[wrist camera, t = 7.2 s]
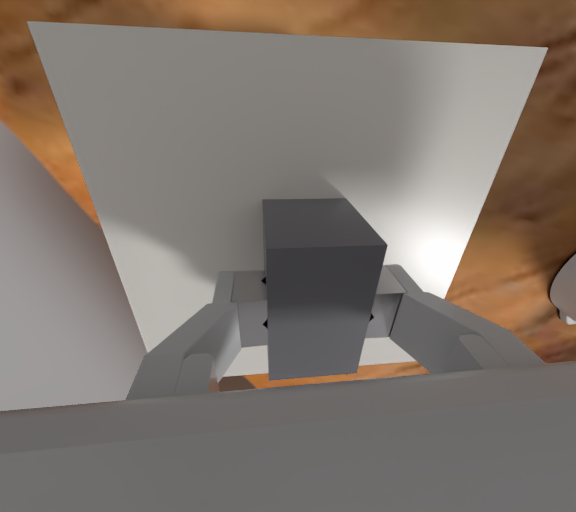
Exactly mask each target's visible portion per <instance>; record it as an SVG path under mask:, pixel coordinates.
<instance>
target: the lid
mask: <svg viewBox="0 0 576 512" xmlns="http://www.w3.org/2000/svg"><path fill="white" fill-rule="evenodd" d="M27 24H28V27H29V29H30V32H31V35H32V37H33V40H34V43H35V46H36V48H37V51H38V54H39V57H40V59H41V62H42V65H43V68H44V70H45V73H46V76H47V79H48V81H49V84H50V87H51V90H52V92H53V95H54V98H55V100H56V103H57V106H58V109H59V111H60V114H61V117H62V120H63V122H64V125H65V128H66V131H67V133H68V136H69V139H70V142H71V144H72V147H73V150H74V152H75V155H76V158H77V161H78V163H79V166H80V169H81V172H82V174H83V177H84V180H85V183H86V185H87V188H88V191H89V194H90V196H91V199H92V202H93V205H94V207H95V210H96V213H97V215H98V218H99V221H100V224H101V226H102V229H103V232H104V235H105V237H106V240H107V243H108V246H109V248H110V251H111V254H112V257H113V259H114V262H115V265H116V268H117V270H118V273H119V276H120V278H121V281H122V284H123V287H124V289H125V292H126V295H127V298H128V300H129V303H130V305H131V308H132V311H133V314H134V317H135V320H136V322H137V325H138V327H139V331H140V333H141V336H142V339H143V341H144V344H145V347H146V349H147V352H148V353H149V352H150V351H151V350H152V349H153V348H155V347H156V346H157V345H158V344H159V343H161V342H162V341H163V340H164V339H165V338H167V337H168V336H169V335H170V334H171V333H173V332H174V331H175V330H176V329H177V328H179V327H180V326H181V325H182V324H183V323H185V322H186V321H187V320H188V319H189V318H191V317H192V316H193V315H194V314H195V313H197V312H198V311H199V310H200V309H201V308H203V307H204V306H205V305H206V304H210V303H212V301H213V296H214V291H215V286H216V281H217V276H218V273H219V272H220V271H250V270H265V274H266V289H267V313H268V318H267V323H268V345H264V346H254V347H244V348H241V350H240V352H239V353H238V355H237V356H236V358H235V359H234V361H233V362H232V364H231V365H230V366H229V368H228V369H227V371H226V372H225V374H224V375H223V377H225V376H237V375H250V374H262V373H269V380H280V379H292V378H304V377H316V376H327V375H339V374H351V373H357V369H358V366H360V365H372V364H385V363H397V362H409V361H416V360H415V359H414V358H412V357H411V356H410V355H409V354H408V353H406V352H405V351H404V350H403V349H402V348H400V347H399V346H398V345H397V344H395V343H394V342H393V341H392V340H391V339H389V338H390V337H385V338H365V336H366V332H367V328H368V324H369V320H370V316H371V312H372V307H373V303H374V299H375V295H376V291H377V287H378V283H379V279H380V274H381V270H382V266H383V265H390V264H399V265H401V266H402V268H403V269H404V270H405V271H406V272H407V273H408V274H409V276H410V277H411V278H412V279H413V280H414V281H415V283H416V284H417V285H418V286H419V287H420V288H421V289H422V291H423V292H430V293H432V294H434V295H436V296H438V297H440V298H442V299H444V298H445V296H446V293H447V291H448V288H449V286H450V284H451V281H452V279H453V276H454V274H455V272H456V269H457V267H458V264H459V262H460V260H461V257H462V255H463V252H464V250H465V247H466V245H467V243H468V240H469V238H470V235H471V233H472V231H473V228H474V226H475V223H476V221H477V219H478V216H479V214H480V211H481V209H482V207H483V204H484V202H485V199H486V197H487V194H488V192H489V190H490V187H491V185H492V182H493V180H494V178H495V175H496V173H497V170H498V168H499V166H500V163H501V161H502V158H503V156H504V153H505V151H506V149H507V146H508V144H509V141H510V139H511V137H512V134H513V132H514V129H515V127H516V125H517V122H518V120H519V117H520V115H521V112H522V110H523V108H524V105H525V103H526V100H527V98H528V96H529V93H530V91H531V88H532V86H533V84H534V81H535V79H536V76H537V74H538V72H539V69H540V67H541V64H542V62H543V59H544V57H545V55H546V52H547V50H548V48H547V47H527V46H508V45H488V44H469V43H449V42H429V41H410V40H390V39H370V38H351V37H331V36H312V35H292V34H272V33H253V32H233V31H213V30H194V29H174V28H155V27H135V26H115V25H96V24H76V23H56V22H37V21H27Z"/></svg>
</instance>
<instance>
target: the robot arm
mask: <svg viewBox="0 0 576 512" xmlns="http://www.w3.org/2000/svg"><path fill="white" fill-rule="evenodd" d="M550 298H551V301H552V303H553V304H554V305H555V306H556V307H557V308H558V309H559V310H560V319H561V320H562V321H564V322H565V323H567V324H576V254H575V255H574V256H573V257H572V258H571V259H570V260H569V261H568V262H567V263H566V264H565V265H564V266H563V267H562V269H561V270H560V271H559V273H558V274H557V276H556V278H555V279H554V281H553V284H552V286H551V290H550ZM267 318H268V313H267V289H266V274H265V270H250V271H220V272H219V273H218V276H217V281H216V286H215V291H214V296H213V301H212V303H210V304H206V305H205V306H204V307H203V308H201V309H200V310H199V311H198V312H197V313H195V314H194V315H193V316H192V317H191V318H189V319H188V320H187V321H186V322H185V323H183V324H182V325H181V326H180V327H179V328H177V329H176V330H175V331H174V332H173V333H171V334H170V335H169V336H168V337H167V338H165V339H164V340H163V341H162V342H161V343H159V344H158V345H157V346H156V347H155V348H153V349H152V350H151V351H150V352H149V353H147V354H146V355H145V356H144V358H143V360H142V363H141V365H140V367H139V370H138V372H137V375H136V377H135V379H134V382H133V384H132V386H131V388H130V391H129V393H128V395H127V398H126V400H123V401H112V402H100V403H89V404H78V405H66V406H55V407H44V408H32V409H21V410H9V411H0V512H576V361H572V362H561V363H549V364H546V363H545V362H544V361H542V360H541V359H540V358H539V357H538V356H537V355H536V354H535V353H534V352H533V351H532V350H531V349H529V348H528V347H527V346H526V345H525V344H524V343H523V342H522V341H521V340H520V339H519V338H518V337H516V336H515V335H514V334H513V333H512V332H511V331H510V330H508V329H506V328H503V327H501V326H499V325H497V324H495V323H493V322H491V321H489V320H487V319H484V318H482V317H480V316H478V315H476V314H474V313H472V312H470V311H468V310H465V309H463V308H461V307H459V306H457V305H455V304H453V303H451V302H449V301H446V300H444V299H442V298H440V297H438V296H436V295H434V294H432V293H430V292H423V291H422V289H421V288H420V287H419V286H418V285H417V284H416V283H415V281H414V280H413V279H412V278H411V277H410V276H409V274H408V273H407V272H406V271H405V270H404V269H403V268H402V266H401V265H399V264H390V265H383V266H382V270H381V274H380V279H379V283H378V287H377V291H376V295H375V299H374V303H373V307H372V312H371V316H370V320H369V324H368V328H367V332H366V336H365V338H385V337H390V338H389V339H391V340H392V341H393V342H394V343H395V344H397V345H398V346H399V347H400V348H402V349H403V350H404V351H405V352H406V353H408V354H409V355H410V356H411V357H412V358H414V359H415V360H416V361H417V362H419V363H420V364H421V365H422V366H423V367H425V368H426V369H427V370H428V371H429V372H431V373H432V374H422V375H411V376H399V377H388V378H376V379H365V380H353V381H342V382H330V383H319V384H307V385H296V386H284V387H273V388H261V389H251V390H238V391H227V392H219V387H218V383H219V381H220V380H221V378H222V377H223V375H224V374H225V372H226V371H227V369H228V368H229V366H230V365H231V364H232V362H233V361H234V359H235V358H236V356H237V355H238V353H239V352H240V350H241V348H244V347H254V346H264V345H268V323H267Z"/></svg>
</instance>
